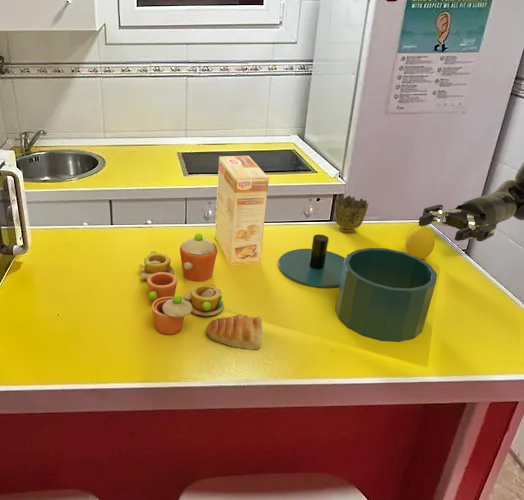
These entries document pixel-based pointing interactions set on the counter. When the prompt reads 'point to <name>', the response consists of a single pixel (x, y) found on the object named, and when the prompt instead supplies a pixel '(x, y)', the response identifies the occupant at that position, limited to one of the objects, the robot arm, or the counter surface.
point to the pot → (385, 294)
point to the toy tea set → (164, 284)
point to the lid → (313, 265)
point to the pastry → (237, 331)
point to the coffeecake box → (240, 209)
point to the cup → (349, 213)
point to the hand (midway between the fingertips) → (438, 229)
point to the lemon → (420, 242)
